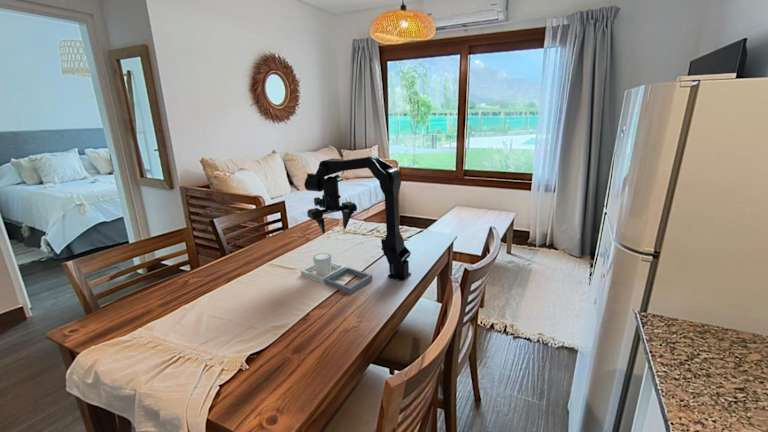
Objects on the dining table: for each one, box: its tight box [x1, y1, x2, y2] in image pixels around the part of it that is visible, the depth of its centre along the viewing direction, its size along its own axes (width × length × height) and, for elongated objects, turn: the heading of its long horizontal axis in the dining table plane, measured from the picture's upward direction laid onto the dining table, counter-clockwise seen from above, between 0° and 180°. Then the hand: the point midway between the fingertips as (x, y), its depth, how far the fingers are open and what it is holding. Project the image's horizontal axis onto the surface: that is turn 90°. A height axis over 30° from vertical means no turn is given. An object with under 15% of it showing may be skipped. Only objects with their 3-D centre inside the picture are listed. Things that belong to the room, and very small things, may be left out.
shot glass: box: [312, 252, 332, 277], centre depth 131 cm, size 7×7×7 cm
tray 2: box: [324, 266, 373, 295], centre depth 125 cm, size 12×12×2 cm
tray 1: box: [300, 261, 347, 285], centre depth 132 cm, size 12×12×2 cm
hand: (334, 231), depth 136 cm, fingers open, 9 cm apart
